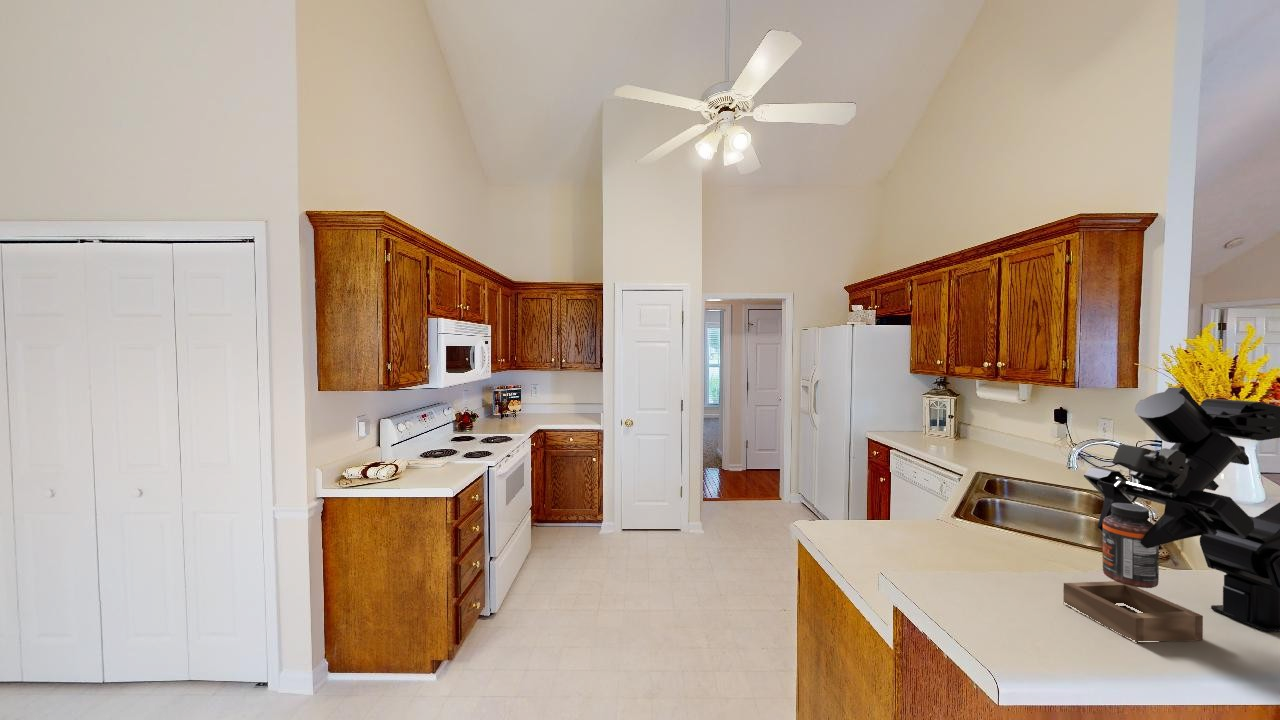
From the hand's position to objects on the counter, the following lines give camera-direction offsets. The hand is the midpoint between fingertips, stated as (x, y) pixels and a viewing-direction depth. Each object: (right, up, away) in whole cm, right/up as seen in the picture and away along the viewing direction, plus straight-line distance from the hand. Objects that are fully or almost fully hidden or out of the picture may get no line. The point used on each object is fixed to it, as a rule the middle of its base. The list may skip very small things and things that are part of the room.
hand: (1121, 537), depth 72 cm
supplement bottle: (+1, -7, 0) cm, 7 cm away
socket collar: (+1, -13, 0) cm, 13 cm away
